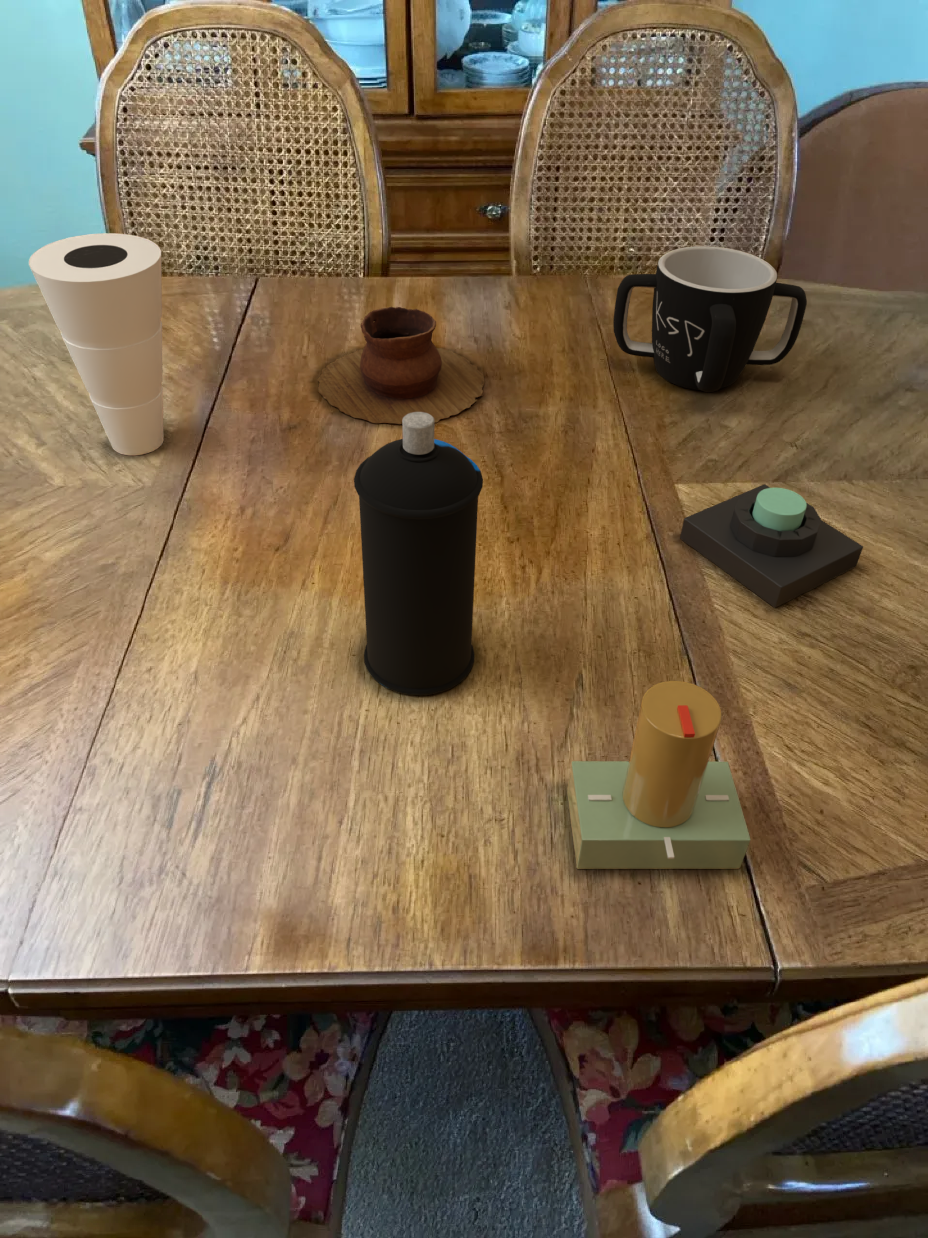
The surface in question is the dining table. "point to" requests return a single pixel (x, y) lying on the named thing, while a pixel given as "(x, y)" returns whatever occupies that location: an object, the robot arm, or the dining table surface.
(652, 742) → the dial
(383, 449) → the aerosol can
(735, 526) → the button base
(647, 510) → the dining table surface
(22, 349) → the dining table surface
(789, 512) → the round green button
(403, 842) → the dining table surface
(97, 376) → the cream tapered cylinder
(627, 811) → the dial panel
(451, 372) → the ceramic pot
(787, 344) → the mug
